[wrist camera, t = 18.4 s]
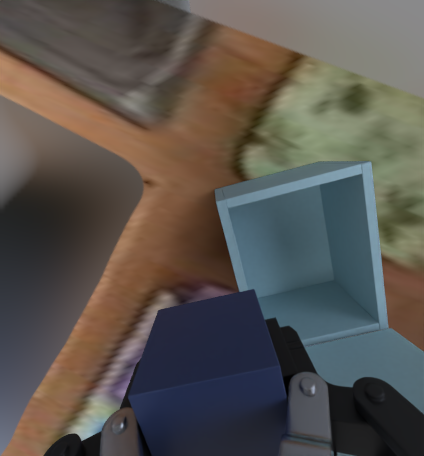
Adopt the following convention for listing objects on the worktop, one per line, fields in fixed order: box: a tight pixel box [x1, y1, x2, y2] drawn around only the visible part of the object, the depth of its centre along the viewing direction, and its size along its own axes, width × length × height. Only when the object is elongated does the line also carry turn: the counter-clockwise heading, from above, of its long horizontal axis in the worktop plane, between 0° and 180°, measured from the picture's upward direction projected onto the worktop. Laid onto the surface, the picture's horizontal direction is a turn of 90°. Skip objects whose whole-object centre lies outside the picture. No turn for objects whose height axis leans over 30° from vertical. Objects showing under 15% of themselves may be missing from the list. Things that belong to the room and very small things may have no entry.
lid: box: [305, 328, 424, 456], centre depth 16 cm, size 16×13×5 cm
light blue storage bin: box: [215, 161, 388, 347], centre depth 27 cm, size 16×13×10 cm
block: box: [128, 289, 288, 456], centre depth 11 cm, size 5×5×5 cm
